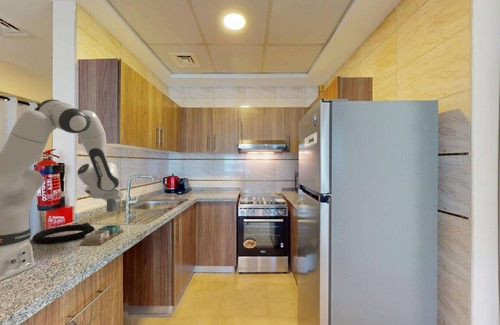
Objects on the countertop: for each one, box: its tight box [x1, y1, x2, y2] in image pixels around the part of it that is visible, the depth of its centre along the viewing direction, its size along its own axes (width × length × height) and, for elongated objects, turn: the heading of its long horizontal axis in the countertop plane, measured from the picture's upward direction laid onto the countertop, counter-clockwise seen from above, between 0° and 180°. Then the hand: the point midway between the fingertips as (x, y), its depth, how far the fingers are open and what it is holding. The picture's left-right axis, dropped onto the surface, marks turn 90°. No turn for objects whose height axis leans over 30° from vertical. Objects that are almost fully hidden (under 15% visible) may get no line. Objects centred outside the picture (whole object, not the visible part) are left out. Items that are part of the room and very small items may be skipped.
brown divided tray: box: [80, 224, 124, 246], centre depth 129 cm, size 22×10×4 cm, turn 2°
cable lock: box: [31, 222, 95, 245], centre depth 134 cm, size 28×4×30 cm
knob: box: [106, 199, 118, 213], centre depth 145 cm, size 4×4×10 cm
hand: (112, 201), depth 146 cm, fingers closed on knob, 4 cm apart
